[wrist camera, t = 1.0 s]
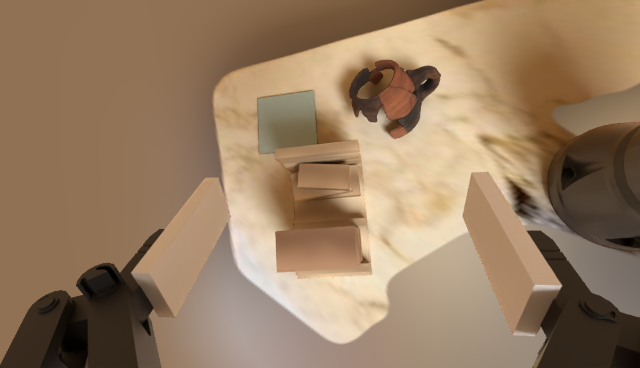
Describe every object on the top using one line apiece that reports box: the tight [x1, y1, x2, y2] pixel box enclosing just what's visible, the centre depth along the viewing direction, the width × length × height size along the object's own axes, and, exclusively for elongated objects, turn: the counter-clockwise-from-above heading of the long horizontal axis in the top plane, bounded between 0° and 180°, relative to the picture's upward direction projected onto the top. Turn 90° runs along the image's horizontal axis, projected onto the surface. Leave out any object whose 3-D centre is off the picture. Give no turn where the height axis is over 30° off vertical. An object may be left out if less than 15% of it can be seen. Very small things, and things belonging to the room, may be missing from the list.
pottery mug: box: [349, 60, 441, 139], centre depth 43 cm, size 12×10×8 cm
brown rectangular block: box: [275, 226, 363, 272], centre depth 36 cm, size 4×8×12 cm, turn 94°
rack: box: [275, 140, 372, 279], centre depth 39 cm, size 16×10×9 cm, turn 4°
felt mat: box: [258, 91, 317, 154], centre depth 47 cm, size 9×9×1 cm
